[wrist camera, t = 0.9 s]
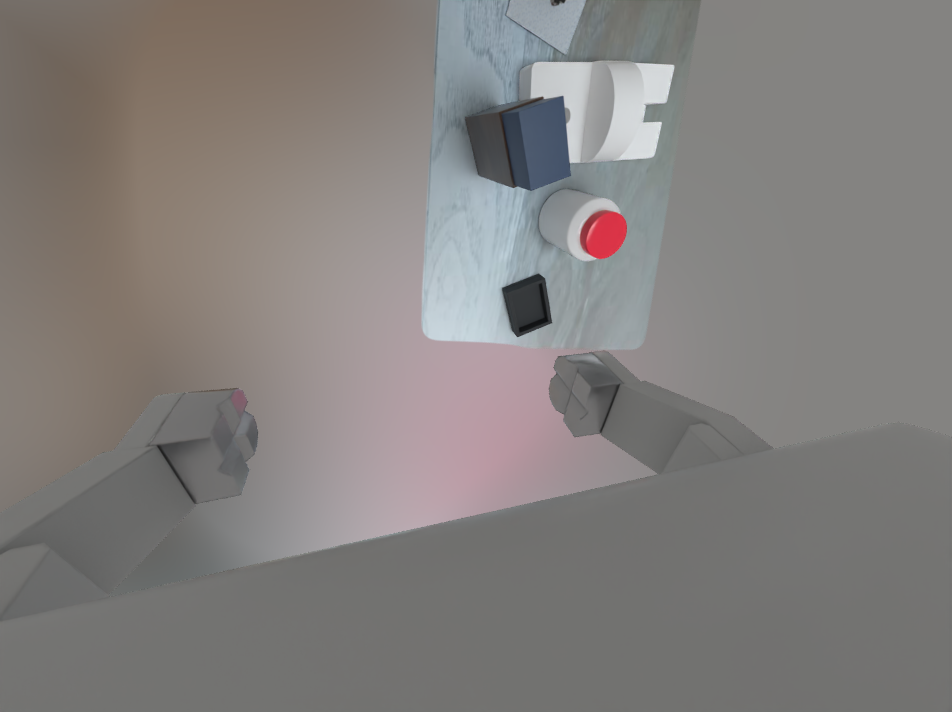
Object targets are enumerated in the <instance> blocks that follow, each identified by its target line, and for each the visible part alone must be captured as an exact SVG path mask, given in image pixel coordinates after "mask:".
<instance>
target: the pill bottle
mask: <svg viewBox="0 0 952 712" xmlns="http://www.w3.org/2000/svg"><path fill="white" fill-rule="evenodd" d="M539 229H540V233H541V235H542V237H543V238H544V239H545V240H546V241H547V242H549V243H550V244H552V245H554V246H556V247H557V248H559V249H561V250H562V251H564V252H566V253H568V254H569V255H571V256H573V257H575V258H576V259H579V260H581V261H593V260H596V259H603V258H607V257H609V256H611V255H613V254H614V253H615V252H616V251H617V250H618V249H619V248H620V247H621V245H622V244H623V242H624V239H625V237H626V233H627V224H626V221H625V219H624V217H623V216H622V215H621V213H620V210H619V208H618V206H617V205H616V204H615V203H614V202H613V201H611V200H609V199H607V198H603V197H599V196H596V195H592V194H588V193H584V192H581V191H577V190H573V189H562V190H559V191H557V192H555V193H554V194H553V195H551V196H550V197H549V198H548V199H547V200H546V202H545V203H544V205H543V207H542V209H541V212H540V215H539Z"/></svg>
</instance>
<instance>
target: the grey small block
mask: <svg viewBox="0 0 952 712" xmlns="http://www.w3.org/2000/svg"><path fill="white" fill-rule="evenodd" d="M585 2H586V0H510V3H509V6H508V10H507V13H506V16H508V17H509V18H511V19H512V20H514V21H515V22H517V23H518V24H520V25H521V26H523V27H524V28H526V29H527V30H529V31H530V32H532V33H533V34H535V35H536V36H538V37H539V38H541V39H542V40H544V41H545V42H547V43H548V44H550V45H551V46H553V47H554V48H556V49H557V50H559V51H560V52H562V53H563V54H565V55H566V53H567V50H568V48H569V45H570V42H571V40H572V37H573V34H574V32H575V29H576V26H577V23H578V21H579V18H580V15H581V13H582V10H583V7H584V5H585Z"/></svg>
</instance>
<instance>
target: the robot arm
mask: <svg viewBox="0 0 952 712" xmlns="http://www.w3.org/2000/svg"><path fill="white" fill-rule="evenodd" d="M554 369H555V371H556V373H557V374H556V375H555V376H554V377H553V378H552V379H551V381H550V386H549V395H550V400H551V402H552V405H553V406H554V407H555V409H556V410H557V411H559V412H560V413H562V414H564V419H563V420H564V422H565V424H566V426H567V427H568V428H569V430H570V431H571V433H572V434H573V436H574V437H579V436H586V435H593V434H600V433H601V435H602V436H603V437H605V438H606V439H608V440H609V441H610V442H612V443H613V444H615V445H616V446H618V447H620V448H621V449H622V450H624V451H625V452H627V453H628V454H630V455H631V456H633V457H634V458H636V459H637V460H639V461H640V462H642V463H643V464H644V465H646V466H648V467H649V468H651V469H652V470H653V471H655V472H656V473H658V475H654V476H650V477H645V478H640V479H636V480H632V481H627V482H623V483H618V484H613V485H609V486H605V487H600V488H596V489H591V490H587V491H582V492H578V493H573V494H569V495H564V496H560V497H555V498H551V499H547V500H542V501H538V502H533V503H529V504H524V505H520V506H516V507H511V508H506V509H502V510H497V511H493V512H489V513H484V514H479V515H475V516H470V517H466V518H461V519H457V520H452V521H448V522H444V523H439V524H434V525H430V526H426V527H421V528H417V529H412V530H407V531H403V532H398V533H394V534H389V535H385V536H380V537H376V538H372V539H367V540H363V541H359V542H354V543H349V544H344V545H340V546H335V547H331V548H327V549H322V550H317V551H313V552H308V553H304V554H300V555H295V556H291V557H286V558H282V559H277V560H273V561H268V562H264V563H260V564H255V565H250V566H246V567H241V568H237V569H233V570H228V571H223V572H219V573H214V574H210V575H205V576H201V577H197V578H192V579H187V580H183V581H179V582H174V583H169V584H165V585H160V586H156V587H152V588H147V589H143V590H138V591H134V592H129V593H125V594H120V595H116V596H111V597H110V596H109V594H110V593H111V592H112V591H113V590H114V589H115V588H116V587H117V586H118V585H119V584H120V583H121V582H122V581H123V580H124V579H125V578H126V577H127V576H128V575H129V574H130V573H131V572H132V571H133V570H134V569H135V568H136V567H137V566H138V565H139V564H140V563H141V561H142V560H143V559H144V558H145V557H146V556H147V555H148V554H149V553H150V552H151V551H152V550H153V549H154V548H155V547H156V546H157V545H158V544H159V543H160V542H161V541H162V540H163V539H164V538H165V537H166V536H167V535H168V534H169V533H170V532H171V531H172V530H173V529H174V528H175V527H176V526H177V525H178V524H179V523H180V522H181V521H182V520H183V519H184V517H186V516H187V514H189V513H190V511H191V510H192V509H193V508H194V507H195V504H198V503H203V502H208V501H213V500H218V499H223V498H228V497H234V496H239V495H241V493H242V490H243V487H244V484H245V481H246V478H247V475H248V472H249V468H248V467H247V464H246V461H247V460H248V459H250V458H251V457H252V456H253V455H254V454H255V451H256V447H257V440H258V430H257V425H256V422H255V419H254V416H253V415H251V414H249V413H248V412H246V411H245V407H246V405H247V402H248V401H247V399H246V397H245V395H244V392H243V391H242V390H240V389H239V388H233V389H221V390H209V391H198V392H188V393H175V394H165V395H160V396H157V397H155V398H154V399H153V400H152V401H151V402H150V404H149V405H148V406H147V408H146V409H145V410H144V411H143V413H142V414H141V415H140V417H139V418H138V419H137V421H136V422H135V423H134V424H133V426H132V427H131V428H130V430H129V431H128V432H127V434H126V435H125V436H124V437H123V439H122V440H121V442H120V443H119V444H118V445H117V447H116V448H115V449H114V451H110V452H103V453H101V454H100V455H98V456H96V457H95V458H93V459H91V460H89V461H88V462H86V463H84V464H83V465H81V466H79V467H78V468H76V469H74V470H72V471H71V472H69V473H67V474H66V475H64V476H62V477H61V478H59V479H57V480H55V481H54V482H52V483H51V484H49V485H47V486H46V487H44V488H42V489H40V490H39V491H37V492H35V493H33V494H32V495H30V496H28V497H26V498H25V499H23V500H21V501H20V502H18V503H16V504H15V505H13V506H11V507H10V508H8V509H6V510H4V511H3V512H1V513H0V712H952V437H950V436H948V435H944V434H941V433H938V432H935V431H932V430H929V429H926V428H922V427H918V426H915V425H910V424H906V423H888V424H882V425H877V426H873V427H869V428H864V429H860V430H856V431H851V432H847V433H842V434H838V435H833V436H829V437H825V438H820V439H816V440H811V441H807V442H802V443H798V444H793V445H789V446H784V447H780V448H775V449H774V448H773V447H771V446H770V445H769V444H768V443H766V442H765V441H764V440H762V439H761V438H760V437H758V436H757V435H756V434H755V433H754V432H752V431H751V430H750V429H749V428H747V427H746V426H745V425H744V424H742V423H741V422H739V421H738V420H737V419H736V418H735V417H733V416H731V415H728V414H725V413H723V412H721V411H718V410H716V409H713V408H711V407H708V406H706V405H703V404H701V403H699V402H696V401H694V400H691V399H688V398H686V397H684V396H681V395H679V394H676V393H674V392H671V391H669V390H666V389H664V388H661V387H659V386H657V385H654V384H652V383H649V382H647V381H640V380H639V379H637V378H636V377H635V376H634V375H633V374H632V373H631V372H630V371H629V370H628V369H627V368H625V367H624V366H623V365H622V364H621V363H620V362H619V361H618V360H617V359H616V358H615V357H613V356H612V355H611V354H610V353H609V352H607V351H596V352H589V353H584V354H576V355H566V356H558V358H557V359H556V361H555V365H554Z"/></svg>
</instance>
